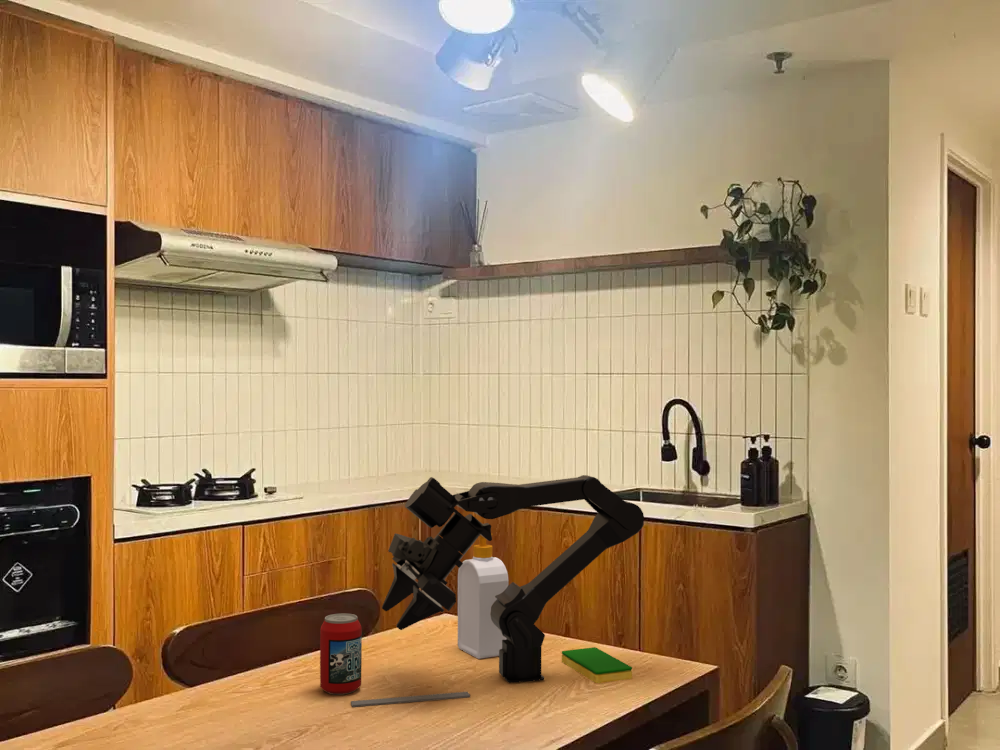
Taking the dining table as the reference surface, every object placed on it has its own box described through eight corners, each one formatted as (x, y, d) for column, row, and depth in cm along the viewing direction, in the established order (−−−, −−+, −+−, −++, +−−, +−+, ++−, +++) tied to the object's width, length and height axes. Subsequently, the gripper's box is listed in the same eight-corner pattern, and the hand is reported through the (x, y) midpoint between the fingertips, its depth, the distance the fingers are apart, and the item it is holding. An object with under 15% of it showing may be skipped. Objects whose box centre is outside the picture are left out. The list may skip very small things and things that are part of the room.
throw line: (467, 693, 158) (467, 691, 158) (470, 697, 156) (470, 695, 156) (350, 703, 153) (350, 701, 153) (352, 707, 151) (352, 705, 151)
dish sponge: (596, 686, 163) (596, 671, 163) (560, 663, 176) (560, 650, 176) (633, 681, 166) (633, 667, 166) (595, 659, 179) (595, 646, 179)
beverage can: (339, 699, 155) (339, 624, 155) (311, 691, 159) (311, 617, 159) (369, 689, 160) (370, 616, 160) (342, 681, 164) (342, 610, 164)
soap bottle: (453, 648, 184) (454, 528, 185) (485, 643, 188) (486, 526, 188) (475, 660, 177) (476, 535, 177) (508, 655, 180) (509, 532, 180)
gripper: (401, 504, 169) (342, 574, 167) (433, 530, 152) (369, 610, 149) (445, 541, 173) (389, 610, 171) (482, 571, 156) (420, 649, 153)
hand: (390, 618), depth 161 cm, fingers open, 9 cm apart
